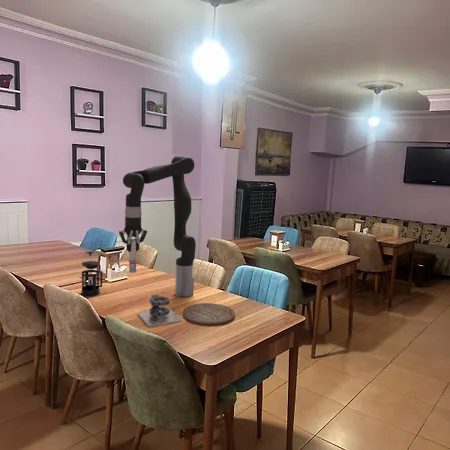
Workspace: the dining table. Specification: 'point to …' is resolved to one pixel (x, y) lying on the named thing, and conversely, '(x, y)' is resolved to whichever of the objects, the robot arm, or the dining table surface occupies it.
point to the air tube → (132, 256)
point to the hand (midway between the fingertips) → (132, 251)
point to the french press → (90, 285)
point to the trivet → (208, 314)
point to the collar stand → (159, 312)
